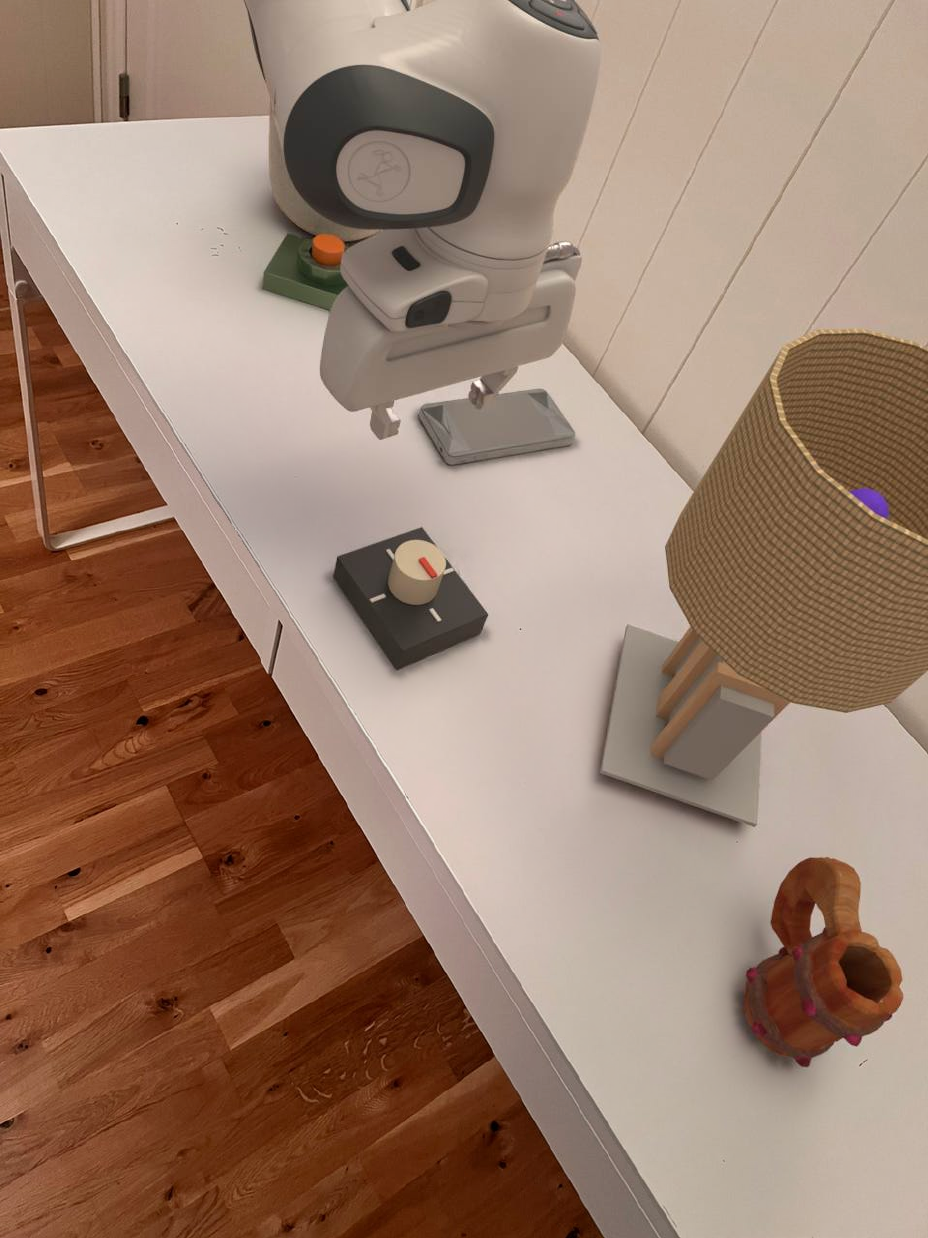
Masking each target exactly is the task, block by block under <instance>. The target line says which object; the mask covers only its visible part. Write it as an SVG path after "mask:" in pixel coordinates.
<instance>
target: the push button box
mask: <svg viewBox="0 0 928 1238" xmlns="http://www.w3.org/2000/svg"><path fill="white" fill-rule="evenodd" d="M314 238H315V237H311V238H309V239H308V238H304V237H301V236H299V235H296V234H292V233H289V232H287V233H286V235H285V236H284V238H283V240H282V242H281V243H280V244H279V247H278V248H277V250H276V251H275V252H274V255H273V256H272V258H271V259H270V261H269V262H268V265H267V266H266V268H265V270H264V271H263V275H262V290H265V291H267V292H271V293H275V294H277V295H281V296H284V297H287V298H291V299H293V300H297V301H299V302H303V303H305V304H309V305H312V306H315V307H318V308H321V309H325V310H329V311H331V308H332V305H333V303H334V301H335V299H336V298H337V297H338V295H339V294H340V293H341V292H342V291H343V290H344V289H345V288H346V287H348V284H347V283H346V281H345V280H344V278H343V276H342V275H341V272H340V265H341V264H338V265H326V264H323V263H320V262H317V261H316V260H315V259H313V257H312V245H313V239H314ZM344 245H345V249H344V252H345V251H346V250H347V249H348V248H350V246H348V245H346V244H345V243H344Z"/></svg>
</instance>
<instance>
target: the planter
mask: <svg viewBox="0 0 928 1238" xmlns="http://www.w3.org/2000/svg"><path fill="white" fill-rule="evenodd" d="M268 117H269V122H268V175H269V183H270V189H271V192H272V195H273V197H274V200H275V202H276V204H277V205H278V207H279V208H280V210H281V212H283V214H284V215H285V216H286V217H287V218H288V219H289V220H290V221H291V222H292V223H294V224H295V226H297V227H298V228H300V229H302V230H303V231H305V232H306V233H308V234H310V235H313V236H315V237H316V236H318V235H321V234H328V235H333V236H336V237H338V238H339V239H341V240H342V241H343V242H353V241H358V240H359V241H360V240H362V239H363V240H364V239H367V238H369V237H371V236H373V235H375V234H377V233H379V232H381V230H365V229H355V228H349V227H346V226H342V225H339V224H337V223H334V222H332V221H330V220H328V219H326V218H324V217H323V216H321V215H320V214H318V213H317V212H316V211H315V210H313V209H312V208H311V207H310V206H309V205H308V204H307V203H306V202H305V201H304V200H303V198H302V197H301V196H300V195H299V193H298V192H297V190H296V189H295V187H294V185H293V183H292V181H291V179H290V176H289V174H288V171H287V168H286V164H285V159H284V156H283V152H282V148H281V144H280V140H279V136H278V132H277V128H276V123H275V119H274V113H273V109H272V105H271V101H270V100H269V116H268Z"/></svg>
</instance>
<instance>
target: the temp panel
mask: <svg viewBox="0 0 928 1238" xmlns="http://www.w3.org/2000/svg"><path fill="white" fill-rule="evenodd" d="M410 540H423V541H426V542H429V543H431V544H433V545H435V546H436V547H438V546H437V545H436V543H435V541H433V539H432V538H431V536H430V535H429V534H428V532H426V530H425V529H424V528H423V526H420V527H417V528H415V529H412V530H409V531H406V532H403V533H400V534H398V535H395V536H394V535H393V536H391V537H389V538H386V539H383V540H379V541H378V542H374V543H371V544H369V545H366V546H363V547H361V548H357V549H355V550H350V551H349V552H346V553H344V554H340V555H337V556H336V560H335V565H334V570H333V576H332V578H333V580H334V581H335V583H336V584H337V586H338V587H339V588H340V590H341V591H342V593H343V594H344V596H345V597H346V599H347V600H348V602H349V603H350V605H351V606H352V608H353V609H354V610H355V612H356V613H357V615H358V616H359V618H360V619H361V621H362V622H363V624H364V625H365V627H366V628H367V629H368V631H369V632H370V633H371V635H372V637H373V638H374V639H375V641H376V642H377V644H378V645H379V647H380V649H381V650H382V651H383V653H384V654H385V655H386V657H387V658H388V660H389V661H390V663H391V665H392V666H393V668H394V669H395V670H396V671H398V670H400V669H403V668H405V667H408V666H410V665H412V664H415V663H417V662H419V661H421V660H424V659H426V658H428V657H431V656H433V655H435V654H437V653H440V652H442V651H444V650H447V649H449V648H451V647H453V646H456V645H458V644H460V643H463V642H465V641H467V640H469V639H472V638H474V637H476V636H479V635H481V633H482V631H483V629H484V626H485V624H486V622H487V619H488V618H489V613H488V612H487V610H486V609H485V608H484V606H483V605H482V604H481V602H480V601H479V600H478V598H477V597H476V596H475V595H474V593H473V592H472V590H470V588H469V587H468V584H466V583H465V581H464V580H463V579H462V577H461V576H460V574H458V572H457V571H456V569H455V568H454V567H453V566H452V564H451V563H450V561H449V560H448V559H447V558H446V557H445V555H444V557H445V559H446V568H445V571H444V574H443V576H442V579H441V582H440V585H439V588H438V591H437V594H436V596H435V597H434V598H433V599H432V600H431V601H430V602H428V603H425V604H422V605H411V604H407V603H404V602H402V601H400V600H399V599H397V598H396V597H395V596H394V595H393V594H392V592H391V591H390V588H389V585H388V579H389V575H390V571H391V567H392V564H393V560H394V556H395V552H396V550H397V548H398V547H399V546H400V545H401V544H403V543H404V542H407V541H410Z"/></svg>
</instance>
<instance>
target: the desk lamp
mask: <svg viewBox="0 0 928 1238" xmlns="http://www.w3.org/2000/svg"><path fill="white" fill-rule="evenodd" d="M664 547H665V548H664V551H665V558H666V559H665V560H666V569H667V578H668V579H667V580H668V587H669V590H670V592H671V593H672V595H673V597H674V598H675V601H676V602H677V604H678V606H679V608H680V610H681V612H682V614H683V615H684V617H685V619H686V621H687V622H688V624H689V627H688V629H687V630H686V632H685V633H684V635H683V636H681V639H679V641H677V640H673V639H671V638H668V637H665V636H663V635H660V634H657V633H655V632H652V631H649V630H646V629H642V628H640V627H637V626H634V625H631V624H629V623H627V624H626V626H625V629H624V636H623V639H622V640H623V641H622V647H621V651H620V657H619V663H618V669H617V673H616V674H617V675H616V681H615V685H614V691H613V697H612V702H611V709H610V714H609V719H608V725H607V731H606V736H605V742H604V747H603V752H602V753H603V754H602V758H601V765H600V769H599V774H602V775H605V776H607V777H610V778H613V779H616V780H619V781H621V782H625V783H627V784H631V785H633V786H636V787H639V788H642V789H645V790H647V791H650V792H654V793H656V794H659V795H662V796H664V797H667V798H670V799H674V800H676V801H679V802H682V803H684V804H688V805H689V806H693V807H696V808H699V809H702V810H704V811H708V812H710V813H714V814H716V815H719V816H722V817H725V818H726V819H727V818H728V819H729V820H730V819H731V820H733V821H736V822H739V823H741V824H745V825H748V826H751V827H753V828H755V827H756V826H757V825H758V819H759V818H758V817H759V796H760V795H759V793H760V773H761V753H762V752H761V751H762V734H763V733H762V732H763V731H764V730H765V729H766V727H768V726H769V725H770V724H771V722H773V720H775V719H776V718H777V716H778V715H780V714H781V713H782V711H784V710H785V709H786V708H787V706H788V705H790V704H795V705H801V706H806V707H812V708H817V709H823V710H828V711H834V712H840V713H845V714H848V713H852V712H857V711H861V710H865V709H870V708H875V707H879V706H883V705H887V704H891V703H892V702H893V701H894V700H896V699H897V698H898V697H899V696H901V694H902V693H904V692H905V691H906V690H907V689H908V688H909V687H911V686H913V684H914V683H915V682H917V681H918V680H919V679H920V678H921V677H922V676H923V675H925V674H926V673H927V672H928V347H927V346H925V345H923V344H920V343H919V342H916V341H912V340H909V339H905V338H902V337H901V338H900V337H897V336H892V335H889V334H885V333H882V332H881V333H880V332H876V331H873V330H868V329H865V328H835V329H834V328H833V329H832V328H831V329H814V330H813V331H810V332H808V333H806V334H804V335H803V336H800V337H799V338H796V339H794V340H793V341H790V342H789V343H786V344H785V345H782V347H781V349H780V350H779V352H778V354H777V355H776V356H775V359H774V360H773V362H772V363H771V365H770V367H769V369H768V370H767V372H766V373H765V375H764V377H763V378H762V380H761V382H760V383H759V385H758V386H757V387H756V390H755V391H754V393H753V394H752V396H751V398H750V399H749V401H748V403H747V405H746V406H745V408H744V410H743V411H742V413H741V414H740V416H739V418H738V419H737V421H736V422H735V424H734V426H733V427H732V428H731V431H730V432H729V434H728V435H727V437H726V439H725V440H724V442H723V444H722V445H721V447H720V449H719V450H718V452H717V453H716V455H715V456H714V458H713V460H712V462H711V463H710V465H709V466H708V468H707V470H706V471H705V473H704V474H703V476H702V477H701V479H700V481H699V483H698V485H697V486H696V488H695V489H694V491H693V493H692V494H691V496H690V497H689V499H688V501H687V502H686V504H685V506H684V507H683V509H682V510H681V512H680V514H679V515H678V518H677V520H676V522H675V524H674V527H673V529H672V531H671V533H670V534H669V537H668V540H667V542H665V546H664Z"/></svg>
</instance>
